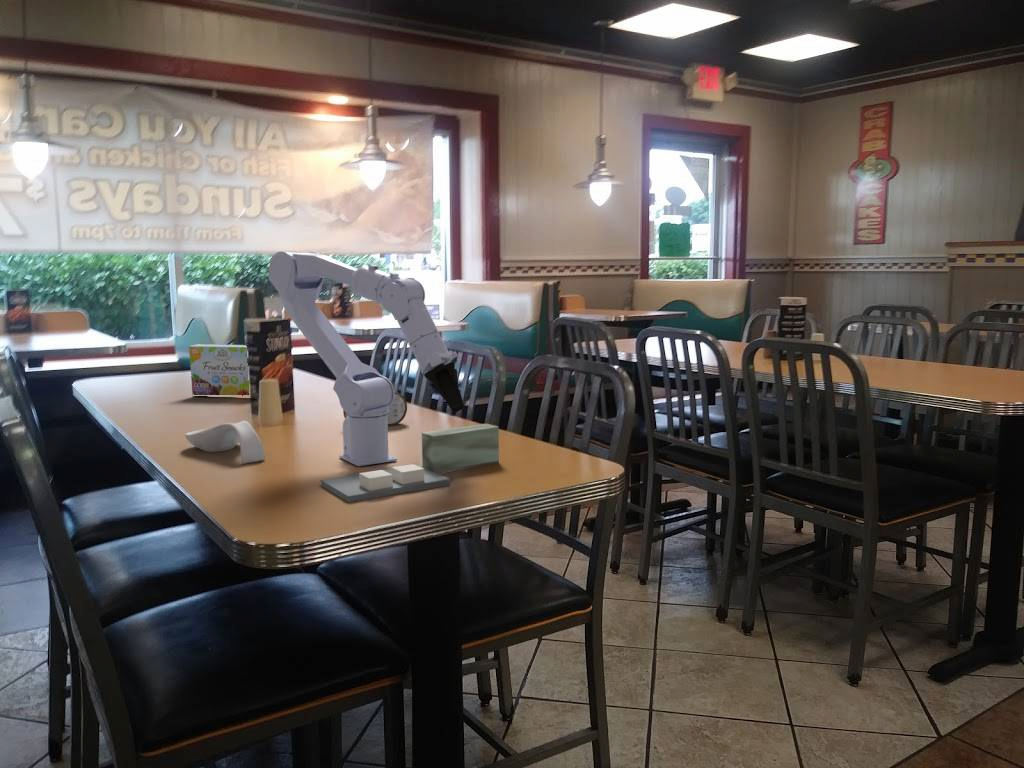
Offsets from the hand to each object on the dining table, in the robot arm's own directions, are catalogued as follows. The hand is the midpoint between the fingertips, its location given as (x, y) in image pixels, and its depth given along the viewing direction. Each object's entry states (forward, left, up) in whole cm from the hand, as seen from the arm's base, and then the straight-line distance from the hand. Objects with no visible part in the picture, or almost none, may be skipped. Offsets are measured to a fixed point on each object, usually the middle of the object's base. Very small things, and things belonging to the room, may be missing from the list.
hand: (458, 408), depth 140 cm
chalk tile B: (+3, -11, -11) cm, 16 cm away
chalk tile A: (+3, -17, -11) cm, 21 cm away
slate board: (0, -14, -12) cm, 18 cm away
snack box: (-114, -10, -12) cm, 115 cm away
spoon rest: (-41, -29, -12) cm, 52 cm away
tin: (-48, +6, -12) cm, 50 cm away
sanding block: (-4, +3, -12) cm, 13 cm away
